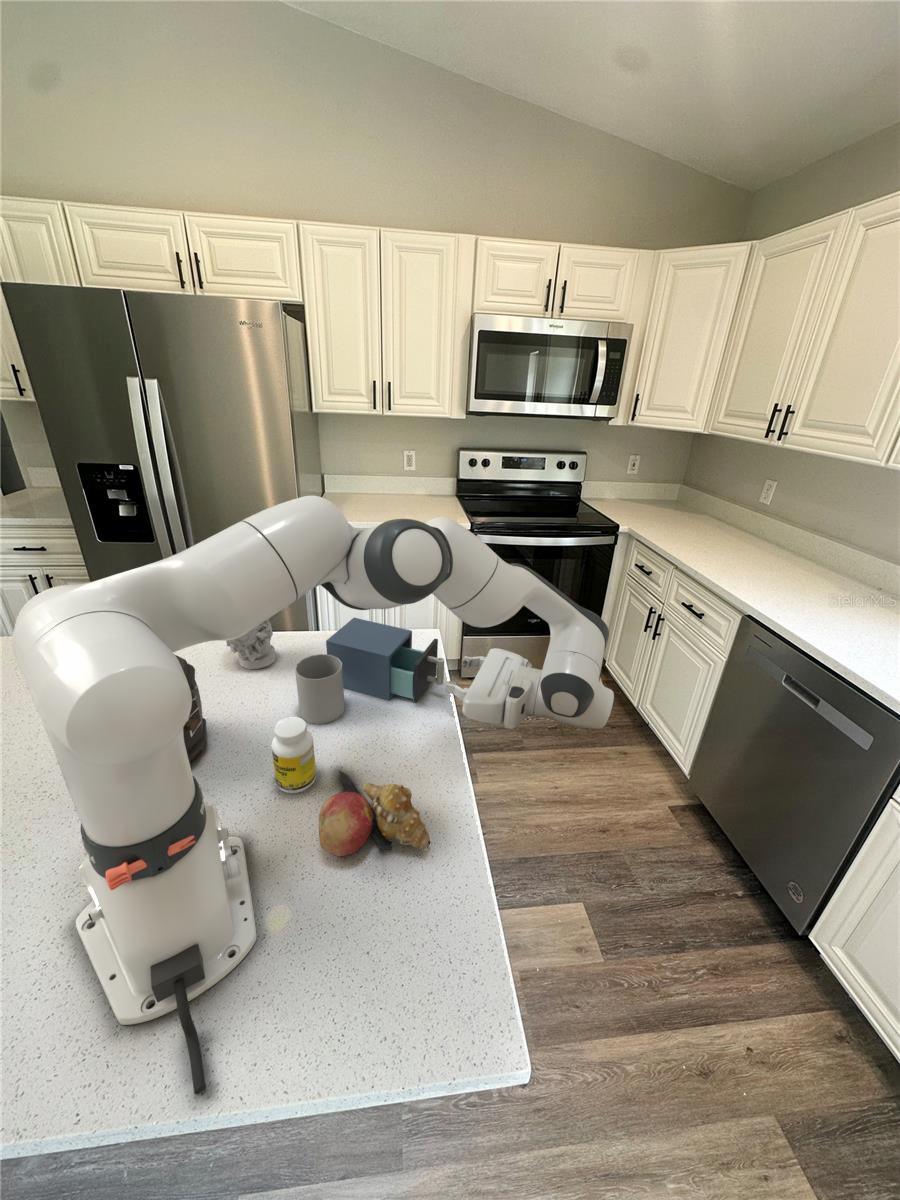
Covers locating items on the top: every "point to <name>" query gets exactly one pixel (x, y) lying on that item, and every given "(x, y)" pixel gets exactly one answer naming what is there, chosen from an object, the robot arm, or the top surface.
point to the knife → (375, 831)
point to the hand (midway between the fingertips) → (455, 673)
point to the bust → (255, 646)
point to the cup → (320, 688)
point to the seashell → (397, 814)
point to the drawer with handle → (415, 671)
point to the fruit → (345, 823)
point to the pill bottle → (293, 755)
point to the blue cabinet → (367, 655)
